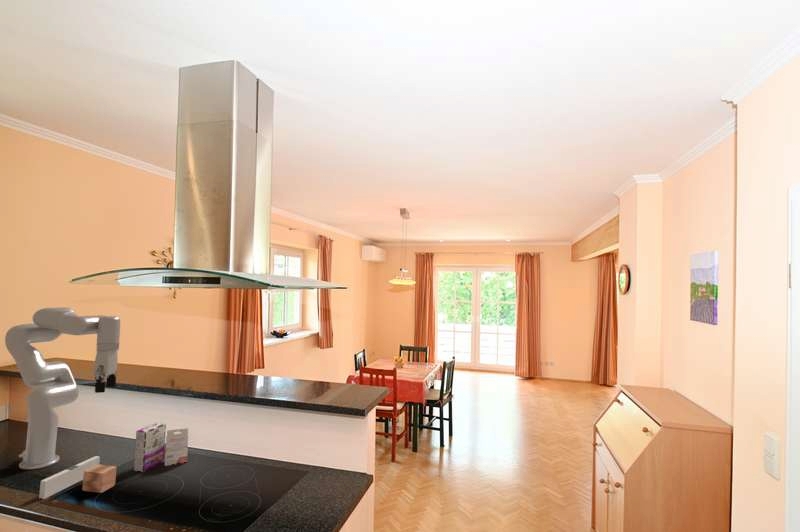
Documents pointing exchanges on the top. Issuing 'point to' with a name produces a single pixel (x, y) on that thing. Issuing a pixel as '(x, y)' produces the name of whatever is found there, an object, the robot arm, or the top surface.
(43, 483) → the grey board
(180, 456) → the ink cartridge box
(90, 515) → the top surface
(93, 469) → the terracotta block
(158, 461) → the candy bar box
